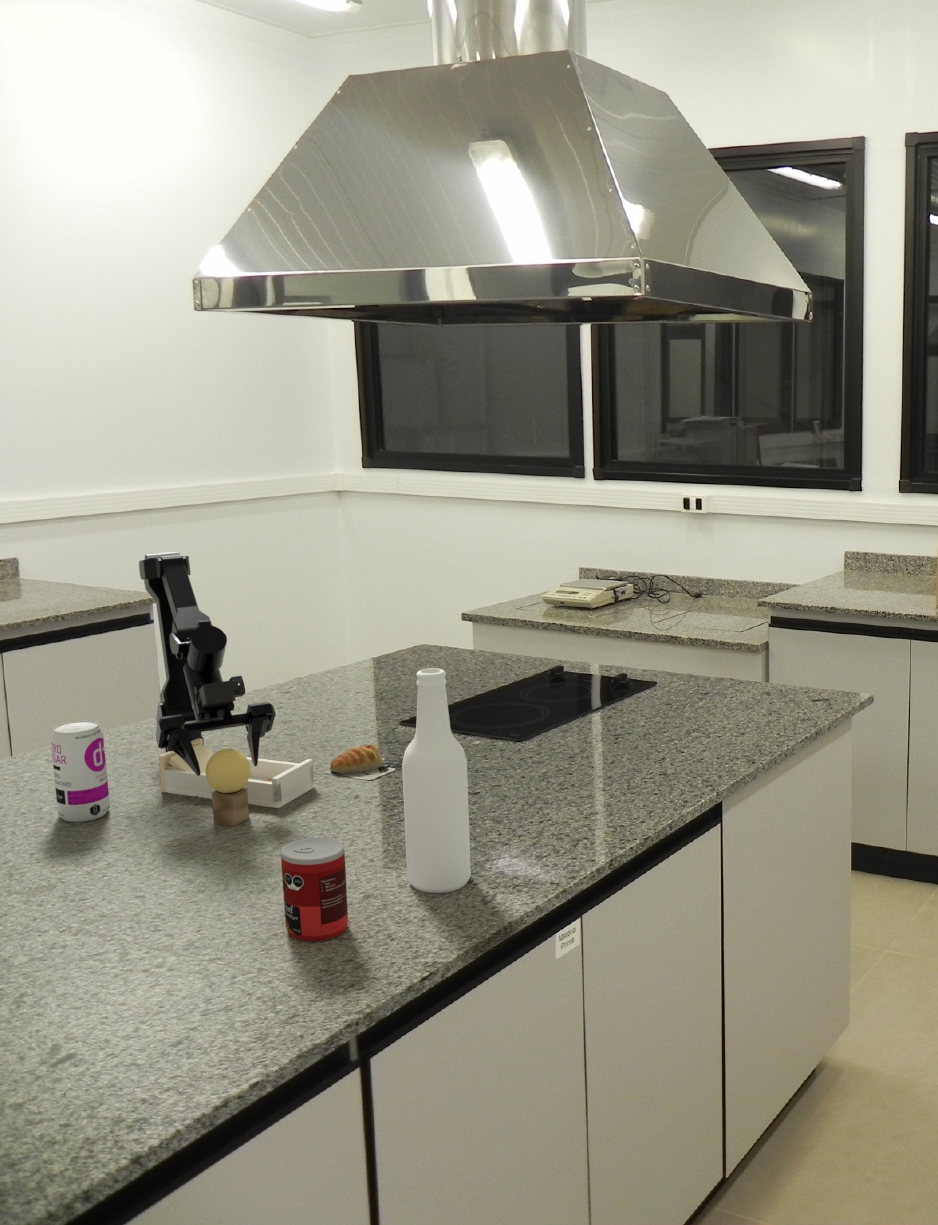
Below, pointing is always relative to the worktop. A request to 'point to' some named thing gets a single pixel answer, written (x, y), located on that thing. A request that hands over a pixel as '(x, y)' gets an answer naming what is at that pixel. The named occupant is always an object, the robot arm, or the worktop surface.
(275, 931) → the worktop surface
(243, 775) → the ball
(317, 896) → the canned food
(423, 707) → the alcohol
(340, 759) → the pastry
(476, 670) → the worktop surface
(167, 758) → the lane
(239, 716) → the robot arm
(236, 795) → the wooden square cup
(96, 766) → the supplement can
